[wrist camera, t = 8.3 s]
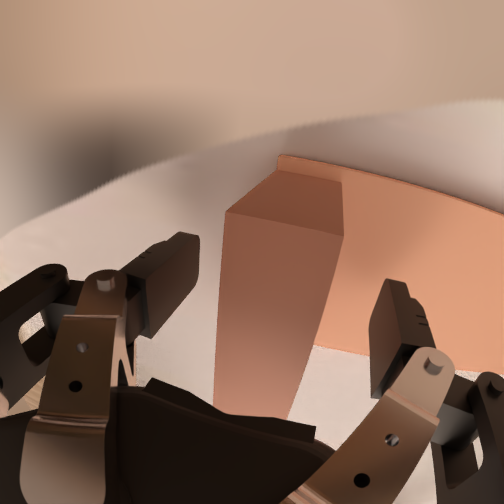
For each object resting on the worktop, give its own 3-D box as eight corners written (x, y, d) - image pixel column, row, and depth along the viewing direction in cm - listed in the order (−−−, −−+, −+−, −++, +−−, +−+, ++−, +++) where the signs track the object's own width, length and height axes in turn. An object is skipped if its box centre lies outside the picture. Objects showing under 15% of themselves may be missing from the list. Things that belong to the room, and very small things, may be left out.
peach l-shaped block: (608, 264, 7) (659, 319, 2) (552, 371, 11) (580, 436, 6) (281, 154, 11) (227, 187, 6) (256, 322, 15) (212, 419, 10)
